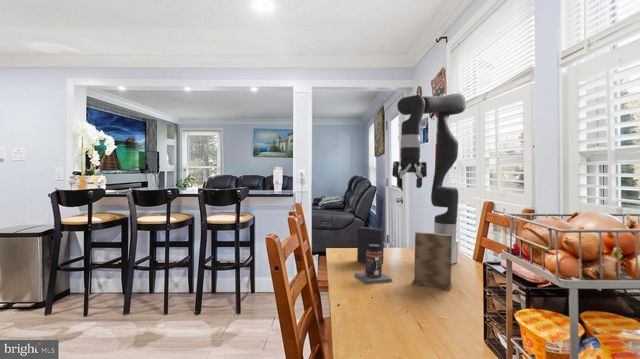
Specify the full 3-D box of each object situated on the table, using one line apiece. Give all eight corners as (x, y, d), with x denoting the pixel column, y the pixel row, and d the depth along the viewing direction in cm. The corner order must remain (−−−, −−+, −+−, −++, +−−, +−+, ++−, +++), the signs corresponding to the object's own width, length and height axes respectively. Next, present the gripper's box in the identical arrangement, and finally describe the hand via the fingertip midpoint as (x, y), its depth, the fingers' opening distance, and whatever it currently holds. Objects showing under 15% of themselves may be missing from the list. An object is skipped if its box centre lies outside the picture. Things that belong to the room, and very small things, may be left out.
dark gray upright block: (384, 263, 145) (384, 228, 145) (380, 265, 142) (380, 230, 141) (360, 259, 151) (361, 226, 151) (356, 261, 148) (357, 227, 147)
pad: (378, 273, 131) (378, 270, 131) (391, 281, 122) (391, 278, 122) (354, 275, 128) (354, 273, 128) (366, 284, 118) (366, 281, 118)
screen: (412, 284, 119) (413, 233, 118) (415, 280, 123) (416, 231, 123) (450, 290, 113) (451, 236, 113) (451, 286, 118) (453, 234, 117)
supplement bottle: (381, 278, 121) (382, 247, 121) (364, 277, 122) (365, 246, 122) (381, 273, 127) (382, 243, 127) (365, 272, 128) (366, 242, 128)
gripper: (420, 148, 140) (419, 187, 140) (389, 146, 135) (388, 187, 136) (431, 147, 133) (430, 188, 133) (399, 145, 128) (398, 188, 129)
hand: (409, 187), depth 134 cm, fingers open, 8 cm apart
